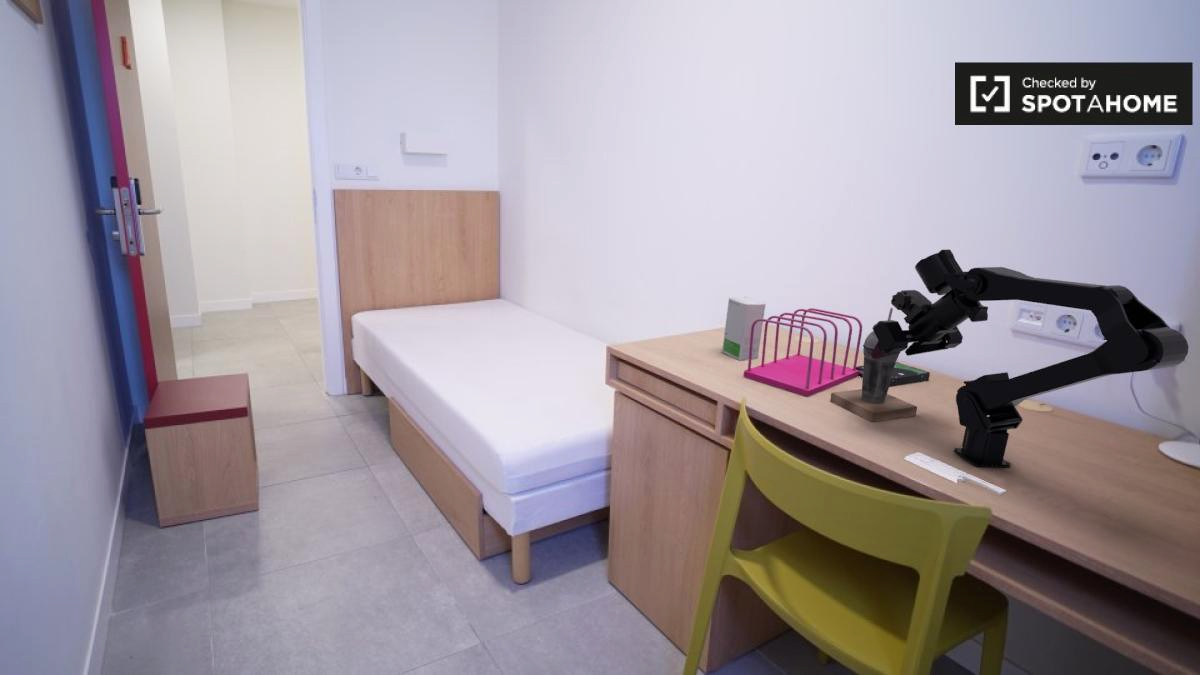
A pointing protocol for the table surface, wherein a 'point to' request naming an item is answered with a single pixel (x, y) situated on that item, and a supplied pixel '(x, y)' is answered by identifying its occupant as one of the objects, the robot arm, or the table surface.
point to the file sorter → (803, 358)
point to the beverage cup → (876, 371)
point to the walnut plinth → (873, 406)
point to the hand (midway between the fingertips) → (889, 355)
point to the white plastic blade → (949, 471)
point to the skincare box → (743, 327)
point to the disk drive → (904, 375)
